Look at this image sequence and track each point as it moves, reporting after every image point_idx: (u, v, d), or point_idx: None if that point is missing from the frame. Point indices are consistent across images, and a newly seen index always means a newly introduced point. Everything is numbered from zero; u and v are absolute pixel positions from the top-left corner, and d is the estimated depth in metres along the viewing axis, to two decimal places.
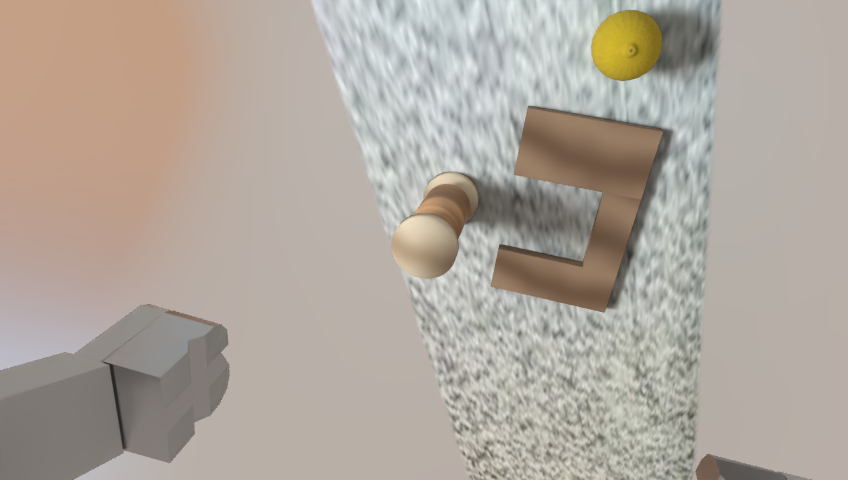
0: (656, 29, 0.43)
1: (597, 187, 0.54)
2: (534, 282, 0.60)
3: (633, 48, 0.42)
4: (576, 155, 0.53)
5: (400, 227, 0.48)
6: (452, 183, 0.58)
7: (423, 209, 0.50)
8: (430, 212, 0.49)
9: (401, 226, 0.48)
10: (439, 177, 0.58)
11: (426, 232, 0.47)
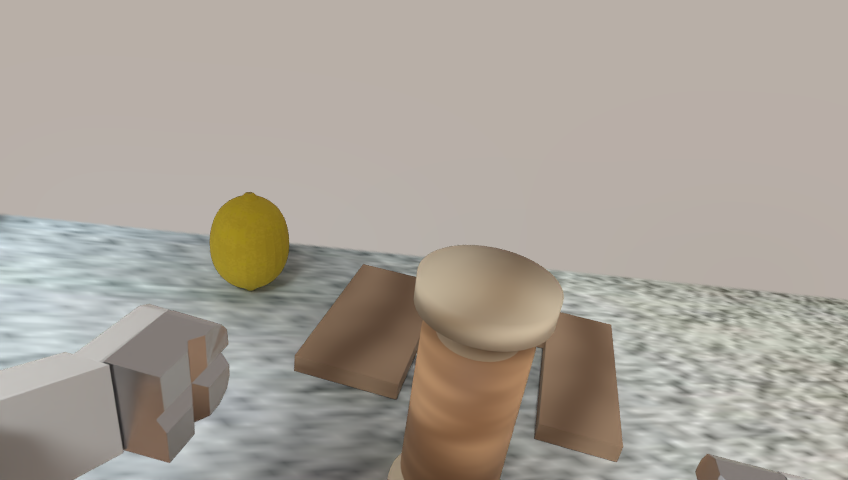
0: None
1: None
2: (590, 386, 0.35)
3: (247, 192, 0.39)
4: (378, 321, 0.38)
5: (439, 299, 0.20)
6: None
7: (420, 355, 0.23)
8: (422, 324, 0.23)
9: (436, 298, 0.20)
10: None
11: (450, 269, 0.22)
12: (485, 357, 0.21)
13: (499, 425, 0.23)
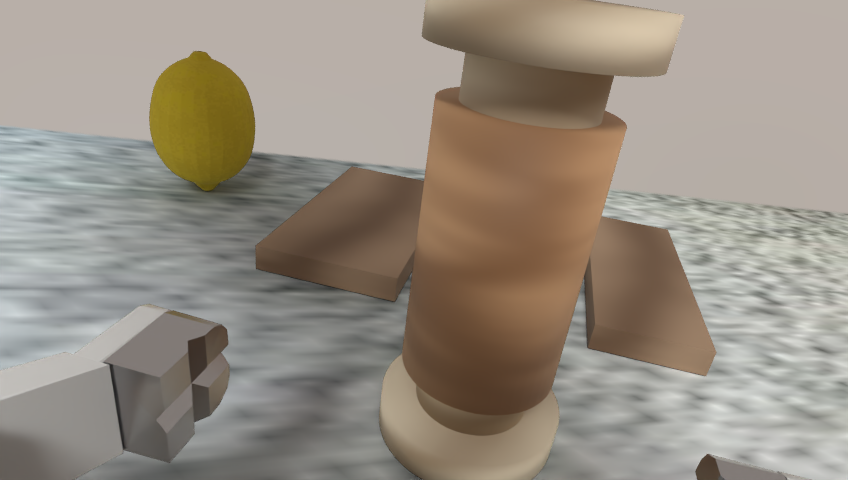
0: None
1: None
2: (656, 287, 0.26)
3: (197, 51, 0.30)
4: (370, 217, 0.29)
5: None
6: (411, 379, 0.18)
7: (433, 143, 0.14)
8: None
9: None
10: (387, 406, 0.17)
11: None
12: (549, 117, 0.12)
13: (567, 254, 0.13)
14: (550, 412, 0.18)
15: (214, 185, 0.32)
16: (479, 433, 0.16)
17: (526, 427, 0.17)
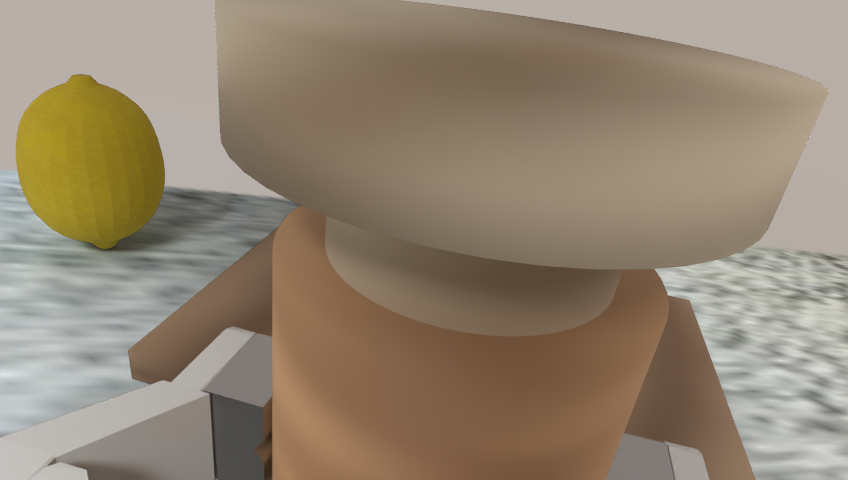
0: None
1: None
2: (680, 404, 0.19)
3: None
4: None
5: (268, 21, 0.04)
6: None
7: None
8: None
9: (260, 17, 0.04)
10: None
11: (365, 8, 0.06)
12: (496, 316, 0.05)
13: None
14: None
15: (112, 242, 0.25)
16: None
17: None
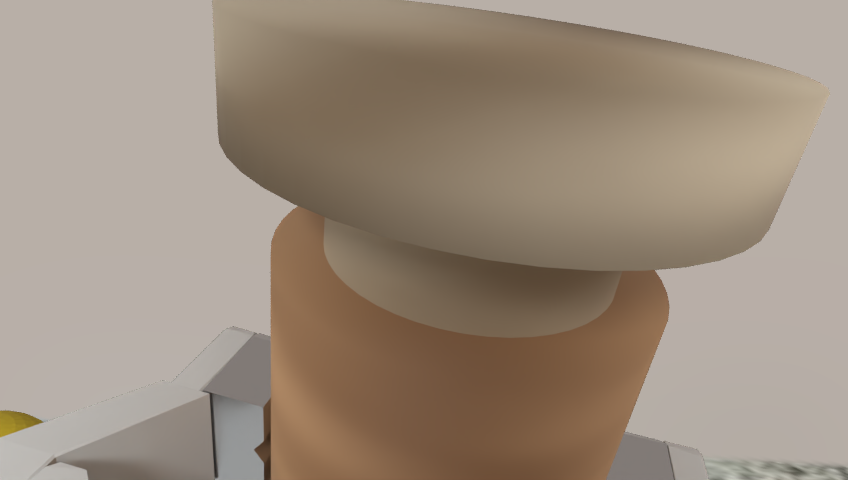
0: None
1: None
2: None
3: None
4: None
5: (266, 20, 0.04)
6: None
7: None
8: None
9: (257, 18, 0.04)
10: None
11: (363, 7, 0.06)
12: (495, 318, 0.05)
13: None
14: None
15: None
16: None
17: None
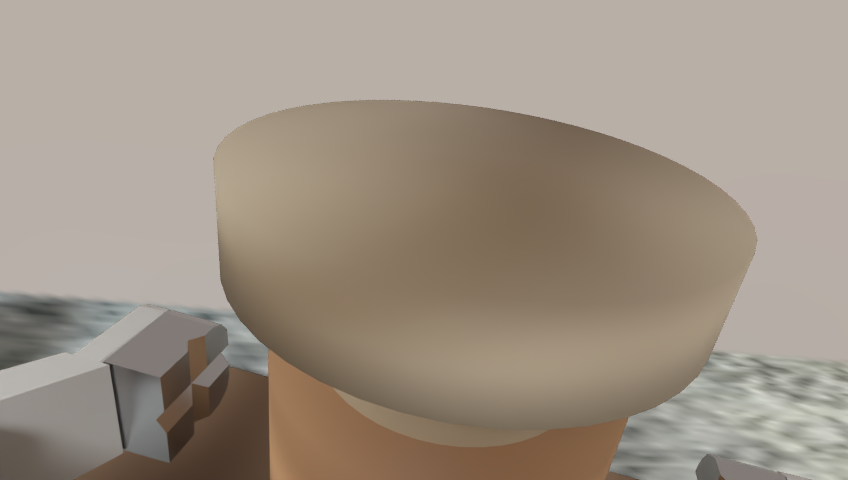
0: None
1: None
2: None
3: None
4: None
5: (260, 205, 0.05)
6: None
7: (270, 415, 0.07)
8: None
9: (251, 200, 0.05)
10: None
11: (350, 136, 0.07)
12: (468, 432, 0.06)
13: None
14: None
15: None
16: None
17: None
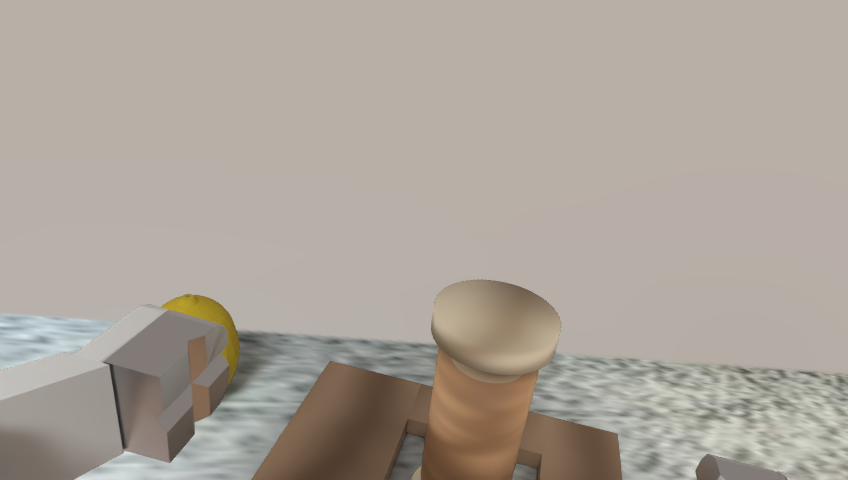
0: None
1: (399, 425, 0.34)
2: None
3: (186, 294, 0.33)
4: (341, 445, 0.33)
5: (454, 331, 0.23)
6: None
7: (437, 378, 0.26)
8: (438, 351, 0.26)
9: (452, 329, 0.23)
10: None
11: (462, 303, 0.25)
12: (495, 379, 0.25)
13: (508, 439, 0.26)
14: None
15: None
16: None
17: None
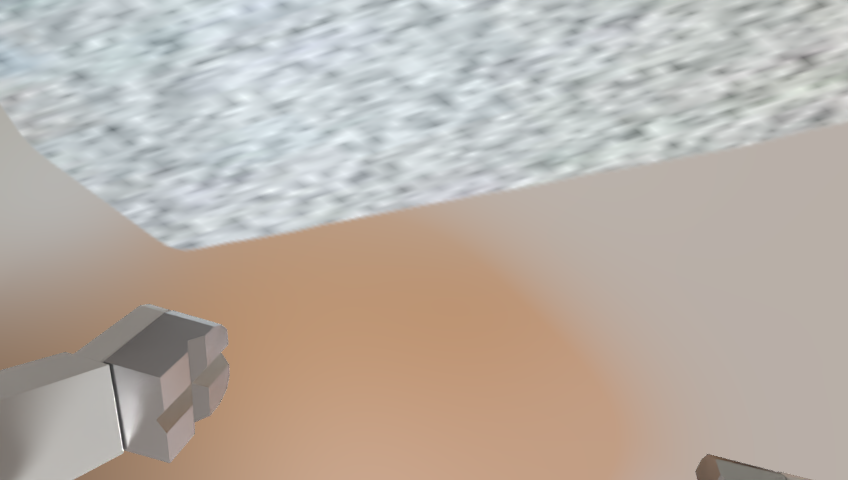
0: None
1: None
2: None
3: None
4: None
5: None
6: None
7: None
8: None
9: None
10: None
11: None
12: None
13: None
14: None
15: None
16: None
17: None
